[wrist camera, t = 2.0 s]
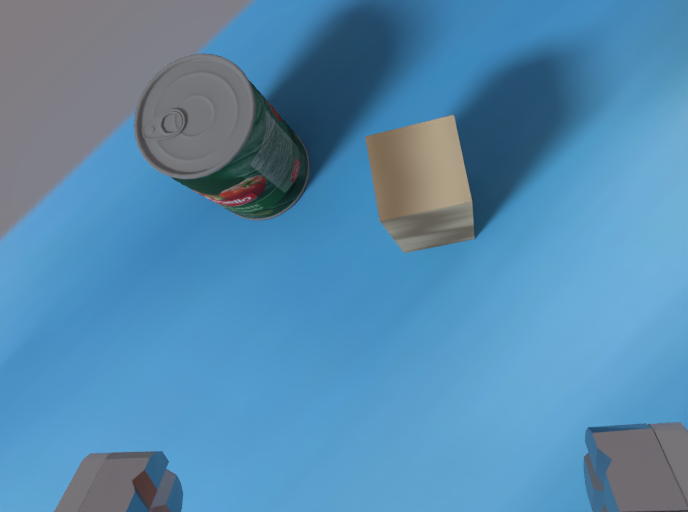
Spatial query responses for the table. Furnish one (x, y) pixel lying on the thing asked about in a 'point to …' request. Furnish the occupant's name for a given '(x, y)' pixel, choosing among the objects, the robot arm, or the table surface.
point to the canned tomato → (221, 137)
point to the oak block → (422, 184)
